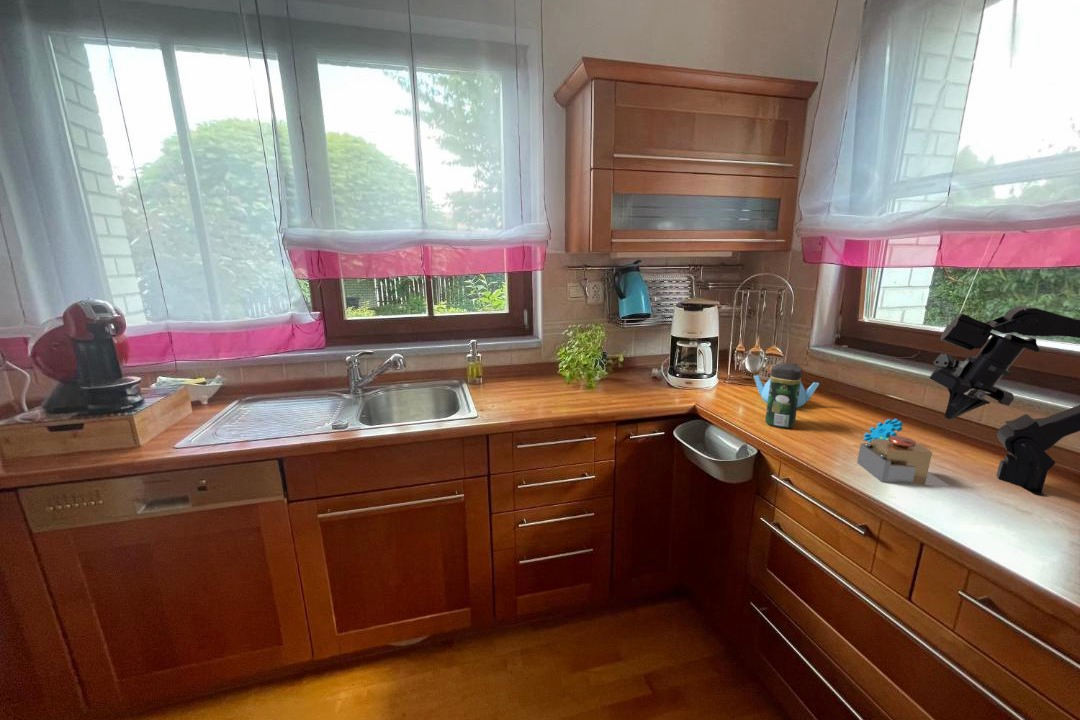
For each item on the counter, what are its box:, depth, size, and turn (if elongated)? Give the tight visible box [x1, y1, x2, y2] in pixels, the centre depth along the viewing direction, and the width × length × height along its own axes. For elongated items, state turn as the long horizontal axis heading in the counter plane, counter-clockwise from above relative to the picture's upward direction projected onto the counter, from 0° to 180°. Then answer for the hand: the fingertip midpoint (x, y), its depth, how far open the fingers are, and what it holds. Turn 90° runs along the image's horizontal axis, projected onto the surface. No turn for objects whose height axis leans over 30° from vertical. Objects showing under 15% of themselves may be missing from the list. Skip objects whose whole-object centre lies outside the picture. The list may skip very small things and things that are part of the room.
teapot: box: [753, 375, 820, 409], centre depth 156 cm, size 15×15×11 cm
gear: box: [862, 418, 904, 444], centre depth 121 cm, size 11×6×10 cm
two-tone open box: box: [856, 442, 952, 488], centre depth 103 cm, size 14×10×7 cm
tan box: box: [870, 435, 933, 481], centre depth 103 cm, size 9×6×8 cm, turn 83°
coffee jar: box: [764, 361, 803, 429], centre depth 135 cm, size 10×8×19 cm
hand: (947, 418), depth 106 cm, fingers closed
